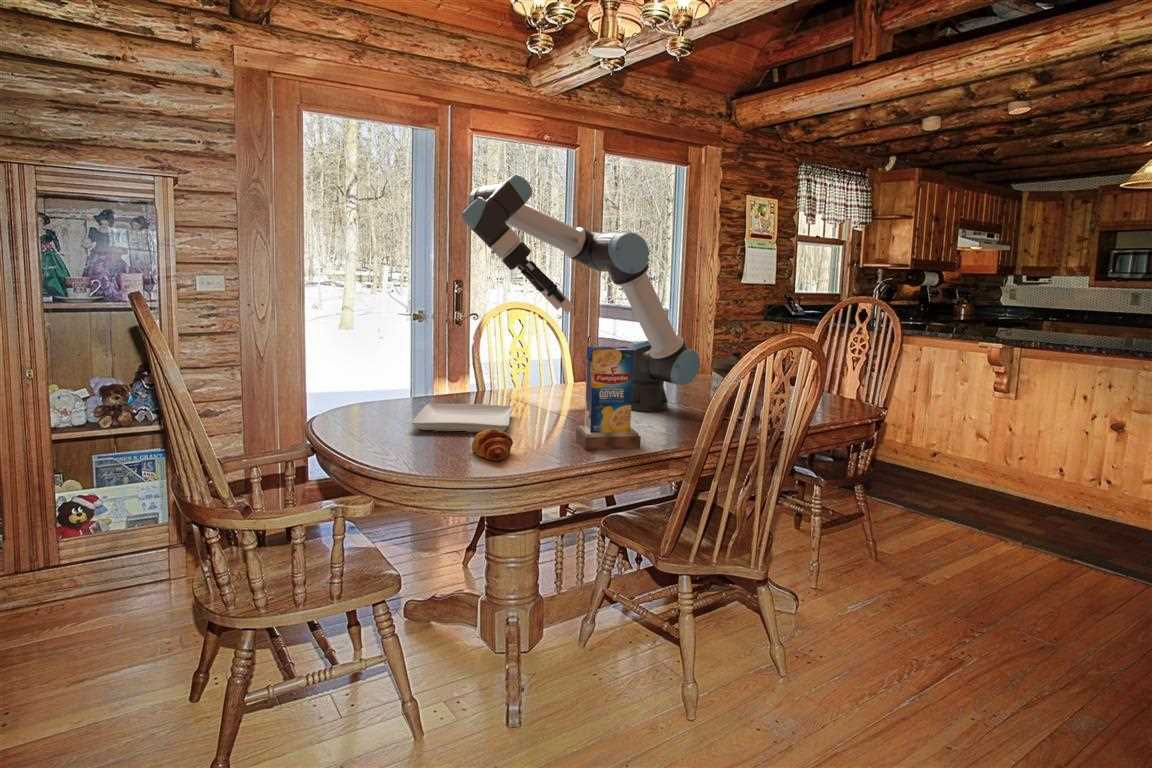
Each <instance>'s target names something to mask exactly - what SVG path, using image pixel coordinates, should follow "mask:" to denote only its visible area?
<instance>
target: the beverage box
mask: <svg viewBox="0 0 1152 768" xmlns="http://www.w3.org/2000/svg"><path fill="white" fill-rule="evenodd" d="M586 348H587V349H586V351H587V352H586V374H585V375H586V378H585V405H584V406H585V408H584V426H585V428H586V429H587V430H588V431H589V432H590V433H608V432H630V427H631V419H632V418H631V417H632V416H631V415H632V410H631V399H632V376H633V353H634V350H633V349H631V347H627V346H587V347H586Z"/></svg>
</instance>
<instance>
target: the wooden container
mask: <svg viewBox="0 0 1152 768" xmlns="http://www.w3.org/2000/svg"><path fill="white" fill-rule="evenodd" d="M730 354H731V355H730V356H729V357H728V358H727V357H726V358H724V357H723V358H721V357H720V358H714V359H712V366H711V367H712V369H711V371H712V372H711V384H710V396H709V397H710V400H711V398H712V397H713V395H714V393H715V392H716V390H717V388H718V386H719V385H720V384H721V382H722V380H723V379H724V377H725V376H726V374H727V373H728V372H729V371H730V370H731V369H732V367H733V366H734V365H735V364H736V363H737V362H738V361H739V360H740V359H741V358H742V359H743V357H742V356H741V355H742V351H741V350H740V349H737V348H733V349H731V351H730ZM749 387H750V382H749V384H748V387H747V391H746V395H745V398H744V401H743V405H742V409H741V412H740V417H741V416H743V413H744V410H745V407H746V404H747V399H748V394H749ZM734 397H735V394H734V395H733V396H732V398H731V399H730V401H729V403H728V404H727V406H726V410H725V416H726V417H729V414H730V412H731V409H732V406H733V402H734ZM710 400H709V401H710ZM756 412H757V407H756V408H755V414H754V417H755V418H756V416H755V415H756V414H757V413H756ZM725 416H724V417H725Z"/></svg>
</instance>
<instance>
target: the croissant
mask: <svg viewBox="0 0 1152 768" xmlns="http://www.w3.org/2000/svg"><path fill="white" fill-rule="evenodd" d="M513 443H514V440H513V438H512V437H511V435H509V434H508V433H507V432H506V431H501V430H498V429H488V430H482V431H480V432H478V433H476V434H475V435H474V438H473V440H472V442H471V451H472V452H474V453H475V454H476V455H477V456H478V455H479V456H478V457H481V458H484V459H487V460H489V461H494V462H495V461H500V460H502V461H503V460H504V459H506V458H507V457H508V456H509V455H510V453H511V449H512V447H513Z"/></svg>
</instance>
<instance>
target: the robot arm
mask: <svg viewBox="0 0 1152 768" xmlns="http://www.w3.org/2000/svg"><path fill="white" fill-rule="evenodd" d="M532 195H533V188H532V185H530V183H529V181H528V180H527V179H526V178H525V177H523V176H522V175H520V174H519V173H516V174H512V175H511V176H510V177H508V178H506V179H505V181H504V182H503V183H498V184H497V183H496V184H492V185H482V186H479V187H476V188H473V190H472V191H471V192H470V194H469V196H468V204H469V206H468V207H467V208H466V209H464V210H463V211H462V212H461V218H462V219H463V221H464V222H465V223H466V225H467V226H468V227H469V229H470V230H471V231H472V232H474V233H475V235H477V236H478V237H479V238H480V240H481V241H483V242H484V244H485V245H486V246H487V247H488V248H489V249H490V250H491V251H490V253H491V254H492V255H494V254H495V255H496V256H497V257H498V259H502V260H501V261H502V263H503V264H504V265H505V266H506V268H508V269H509V270H511V271H512V270H515V269H518V270H519V271H520V274H521V275H522V276H524V277H525V278H526V279H527V280H528V282H530V283H531V284H532V286H533V287H534V288H535V290H536V291H538V292H540V294H541V295H542V297H544V298H545V299H546V301H547V302H549V303H550V304H551V306H552V307H554V309H555V310H556V311H558V310H559V309H560V308H561V309H562V310H563V311H564V313H566V314H570V312H571V311H572V310H573V309H574V308H575V305H574V304H573V303H572V302H571V301H570V300H569V299H568V297H566V296H565V294H563V292H562V291H561V290H560V289H559V288H558V285H557V284H556V283H554V282H553V281H552V280H551V279H550V278H549V277H548V276H547V275H546V274H545V273H544V272H543V271H542V270H541V269H540V267H538V266H537V264H536V263H535V262H534V261H533V260H529V259H527V258H528V256H529V255H530V254H531V252H532V251H531V249H530V248H529V247H528V245H526V244H525V242H524V241H520V240H521V238H520V237H519V236H518V234H517V233H516V232H515V231H514V230H513V229H512V228H514V229H516V230H518V231H521V232H523V233H524V234H527V235H528V236H531V237H534V238H535V239H538V240H539V241H541V242H544V243H545V244H547V245H550V246H552V247H554V248H556V249H558V250H560V251H563V252H564V254H565V256H566V257H567V258H569V259H572V260H574V261H575V262H577V263H579V264H581V265H583V266H584V267H587V268H590V269H592V270H594V271H598V272H606V273H607V272H608V274H609V276H610V278H611V280H612V282H613V284H614V285H616V286H619V287H621V289H622V291H623V293H624V295H625V297H626V299H627V301H628V304H630V305H629V306H630V307H631V309H632V311H633V313H634V315H635V317H636V319H637V321H638V323H639V324H640V327H641V328H642V329H641V330H642V331H643V333H644V335H645V337H646V339H647V340H636V341H633V342H632V343H631V345H630V349H633V350H634V353H633V376H632V399H631V411H636V412H646V411H655V412H662V410H664V411H666V409H667V410H668V408H669V401H668V397H667V393H666V390H665V386H664V383H669V384H672V385H676V386H677V385H680V386H685V385H688V384H690V383H692V382H693V381H694V380H695V379H696V377H697V376H698V373H699V369H700V367H701V359H700V356H699V354H698V352H697V351H696V350H694V349H692V348H688V346H687V344H686V341H685V339H684V338H683V337H682V336H681V335H678V334H677V335H676V332H675V330H674V328H673V325H672V324H671V322H670V320H669V317H668V316H667V313H666V311H665V309H664V307H663V305H662V303H661V301H660V298H659V296H658V295H657V292H656V290H655V288H654V286H653V284H652V281H651V279H650V278H649V276H648V271H649V268H650V265H649V261H650V258H649V256H650V249H649V245H648V243H647V242H646V240H645V239H644V237H642V236H641V235H639V234H638V233H635V232H633V231H632V232H630V231H626V230H625V231H618V232H597V231H590V230H586V229H584V228H583V227H576V228H575V227H573V226H571V225H569V224H567V223H565V222H563V221H561V220H559V219H557V218H555V217H553V216H552V215H550V214H547V213H545V212H543V211H541V210H539V209H537V208H535V207H533V206H531V205H529V204H527V202H528V201H529V200H530V198H531V197H532ZM511 227H512V228H511Z"/></svg>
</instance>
